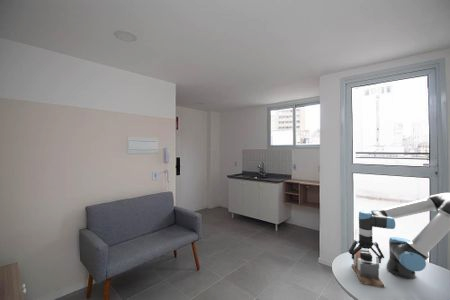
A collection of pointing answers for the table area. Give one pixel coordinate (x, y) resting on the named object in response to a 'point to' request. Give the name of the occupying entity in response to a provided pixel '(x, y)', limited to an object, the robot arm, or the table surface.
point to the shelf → (368, 279)
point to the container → (364, 258)
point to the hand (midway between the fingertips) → (366, 265)
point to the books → (359, 255)
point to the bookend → (369, 270)
